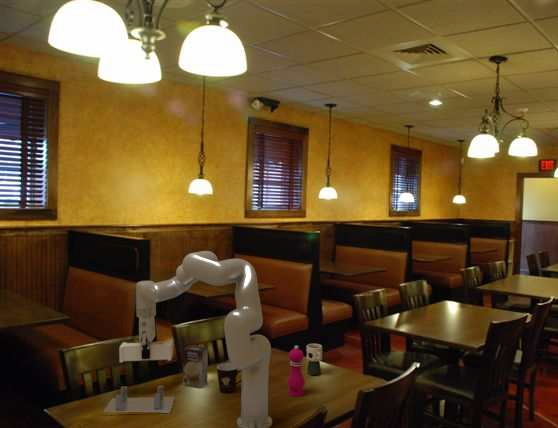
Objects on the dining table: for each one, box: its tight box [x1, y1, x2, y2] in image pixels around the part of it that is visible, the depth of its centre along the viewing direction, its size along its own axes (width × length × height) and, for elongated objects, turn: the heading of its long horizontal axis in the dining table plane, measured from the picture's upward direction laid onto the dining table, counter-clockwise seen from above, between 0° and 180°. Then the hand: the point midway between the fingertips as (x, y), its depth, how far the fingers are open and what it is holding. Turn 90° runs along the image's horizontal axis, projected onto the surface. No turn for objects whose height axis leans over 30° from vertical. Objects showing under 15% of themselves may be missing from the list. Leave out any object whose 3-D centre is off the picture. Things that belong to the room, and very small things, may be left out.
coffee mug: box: [216, 362, 242, 395], centre depth 206 cm, size 12×9×10 cm
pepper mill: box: [286, 345, 306, 397], centre depth 204 cm, size 7×7×20 cm
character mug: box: [306, 343, 323, 376], centre depth 227 cm, size 11×7×13 cm, turn 24°
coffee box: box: [182, 344, 209, 389], centre depth 213 cm, size 9×6×16 cm
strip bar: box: [118, 340, 174, 363], centre depth 200 cm, size 7×20×7 cm, turn 95°
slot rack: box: [103, 385, 175, 414], centre depth 189 cm, size 12×24×6 cm, turn 95°
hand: (146, 356), depth 200 cm, fingers closed on strip bar, 4 cm apart
